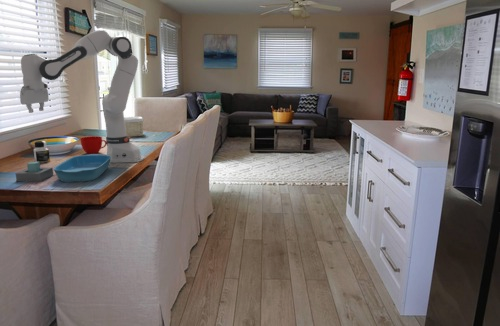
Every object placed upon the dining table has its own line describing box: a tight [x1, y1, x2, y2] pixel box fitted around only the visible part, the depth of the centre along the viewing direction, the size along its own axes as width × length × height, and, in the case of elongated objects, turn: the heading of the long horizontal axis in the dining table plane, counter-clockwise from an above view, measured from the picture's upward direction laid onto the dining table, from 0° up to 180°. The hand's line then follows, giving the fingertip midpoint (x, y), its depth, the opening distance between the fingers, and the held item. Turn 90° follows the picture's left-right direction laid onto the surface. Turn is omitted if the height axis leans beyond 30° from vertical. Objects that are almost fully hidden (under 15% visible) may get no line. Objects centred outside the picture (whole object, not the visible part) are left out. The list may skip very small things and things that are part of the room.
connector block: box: [26, 161, 41, 172], centre depth 202 cm, size 4×4×7 cm
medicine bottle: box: [33, 140, 51, 163], centre depth 239 cm, size 7×7×12 cm
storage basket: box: [124, 116, 144, 138], centre depth 326 cm, size 24×16×15 cm
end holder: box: [15, 166, 54, 182], centre depth 203 cm, size 12×12×4 cm
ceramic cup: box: [79, 136, 107, 155], centre depth 260 cm, size 13×17×10 cm
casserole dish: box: [53, 153, 111, 183], centre depth 210 cm, size 37×22×7 cm, turn 3°
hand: (36, 111), depth 217 cm, fingers open, 8 cm apart
